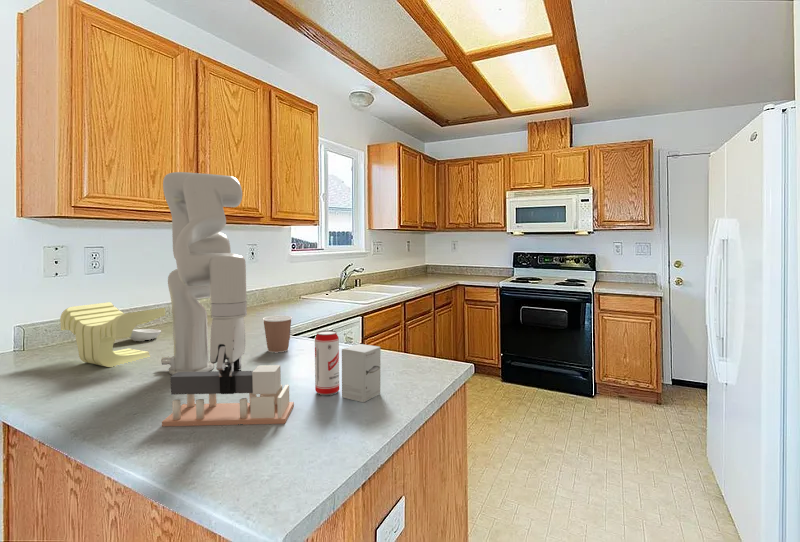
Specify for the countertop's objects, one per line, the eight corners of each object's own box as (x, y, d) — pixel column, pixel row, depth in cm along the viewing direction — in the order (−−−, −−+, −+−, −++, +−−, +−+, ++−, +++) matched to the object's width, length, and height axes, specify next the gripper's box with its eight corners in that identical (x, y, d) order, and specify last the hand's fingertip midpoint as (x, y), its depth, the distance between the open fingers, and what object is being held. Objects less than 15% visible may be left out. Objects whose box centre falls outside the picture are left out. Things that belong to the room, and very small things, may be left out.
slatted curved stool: (62, 361, 141) (59, 308, 140) (112, 350, 156) (110, 302, 155) (117, 373, 128) (115, 314, 127) (167, 360, 143) (165, 307, 142)
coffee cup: (298, 349, 157) (298, 317, 157) (276, 355, 149) (276, 321, 148) (279, 345, 163) (278, 314, 162) (257, 351, 154) (256, 318, 153)
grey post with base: (169, 395, 94) (168, 373, 93) (179, 388, 99) (179, 366, 98) (275, 393, 95) (275, 371, 95) (280, 386, 100) (280, 365, 100)
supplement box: (364, 403, 105) (364, 352, 104) (341, 397, 109) (340, 348, 108) (381, 394, 111) (381, 346, 110) (358, 389, 115) (358, 342, 114)
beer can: (343, 389, 114) (343, 330, 113) (332, 398, 108) (331, 335, 107) (322, 387, 116) (322, 329, 115) (310, 395, 110) (309, 333, 109)
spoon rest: (150, 335, 181) (150, 319, 181) (167, 339, 176) (166, 321, 175) (87, 347, 161) (86, 329, 160) (104, 351, 155) (103, 332, 155)
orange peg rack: (161, 426, 91) (161, 401, 91) (183, 408, 101) (182, 385, 101) (284, 423, 93) (284, 398, 93) (293, 406, 103) (293, 383, 102)
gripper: (224, 304, 104) (226, 379, 105) (196, 316, 87) (198, 404, 88) (256, 304, 104) (258, 378, 105) (233, 316, 88) (235, 403, 89)
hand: (231, 389), depth 97 cm, fingers closed on grey post with base, 3 cm apart
